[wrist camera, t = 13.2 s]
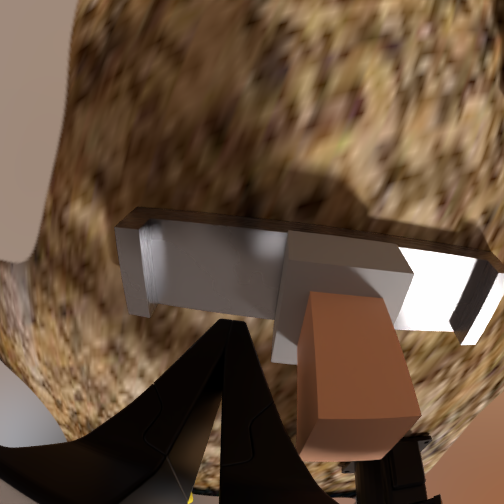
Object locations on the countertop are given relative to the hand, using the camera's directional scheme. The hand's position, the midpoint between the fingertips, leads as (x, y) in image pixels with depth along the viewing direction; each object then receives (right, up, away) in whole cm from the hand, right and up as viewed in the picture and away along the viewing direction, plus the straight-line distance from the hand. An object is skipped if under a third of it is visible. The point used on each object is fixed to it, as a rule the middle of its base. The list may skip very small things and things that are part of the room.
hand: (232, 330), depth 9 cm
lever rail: (+4, +2, +3) cm, 5 cm away
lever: (+4, +1, +2) cm, 4 cm away
